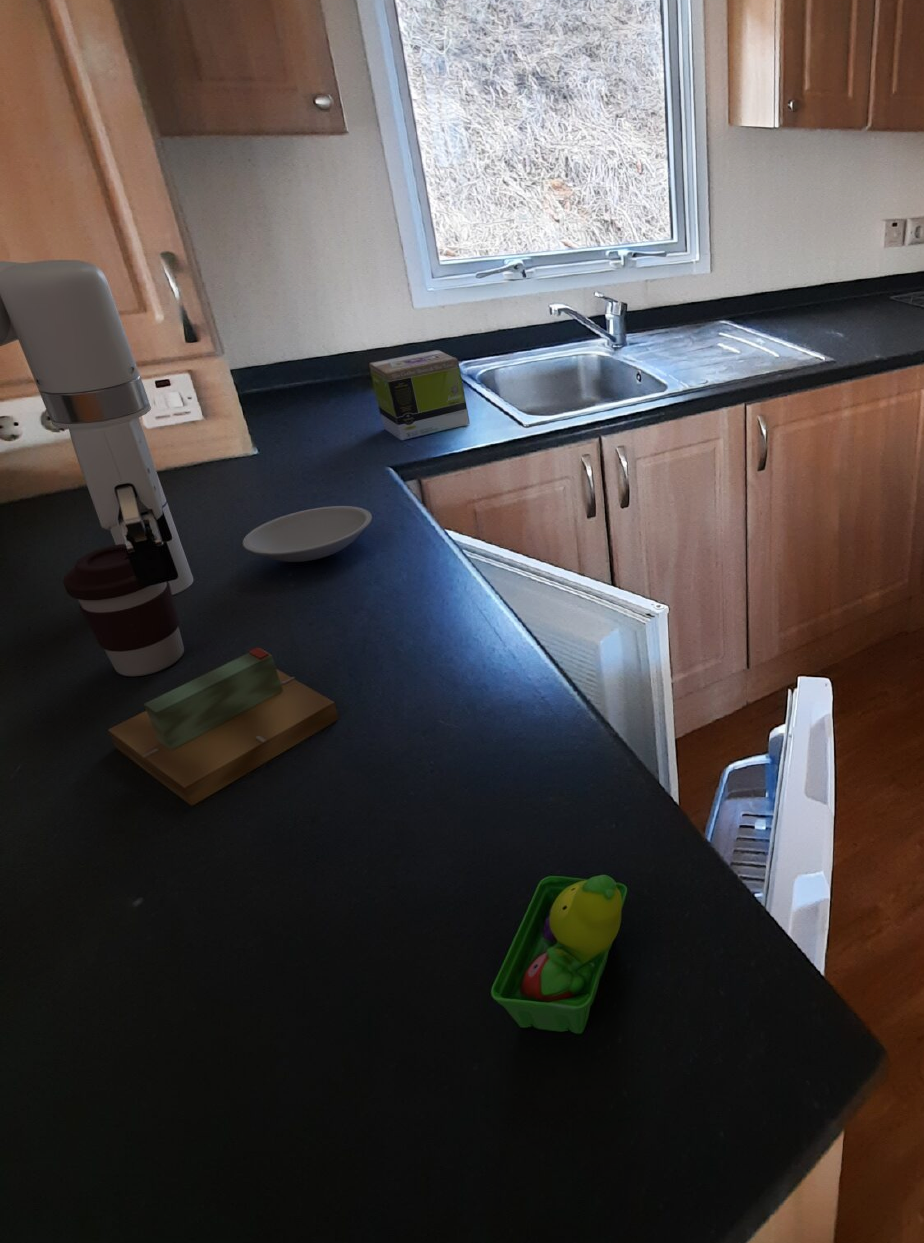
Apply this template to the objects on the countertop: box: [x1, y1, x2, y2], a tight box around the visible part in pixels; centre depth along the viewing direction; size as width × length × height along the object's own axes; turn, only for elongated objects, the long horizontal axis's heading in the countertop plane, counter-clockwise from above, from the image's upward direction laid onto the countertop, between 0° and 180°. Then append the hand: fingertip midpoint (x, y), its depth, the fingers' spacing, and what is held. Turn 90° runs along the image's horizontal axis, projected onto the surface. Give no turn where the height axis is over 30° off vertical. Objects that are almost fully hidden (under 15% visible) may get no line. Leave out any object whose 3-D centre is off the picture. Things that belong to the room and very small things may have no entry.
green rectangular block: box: [143, 647, 283, 750], centre depth 94 cm, size 12×3×5 cm, turn 148°
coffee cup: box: [62, 544, 185, 677], centre depth 105 cm, size 10×10×15 cm
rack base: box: [107, 668, 340, 807], centre depth 96 cm, size 16×16×3 cm
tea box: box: [368, 349, 471, 441], centre depth 180 cm, size 15×10×15 cm, turn 133°
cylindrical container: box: [109, 465, 194, 596], centre depth 118 cm, size 7×7×25 cm
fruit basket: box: [490, 874, 628, 1035], centre depth 68 cm, size 11×9×11 cm
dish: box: [242, 505, 373, 563], centre depth 131 cm, size 18×14×5 cm
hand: (157, 561), depth 87 cm, fingers open, 9 cm apart
